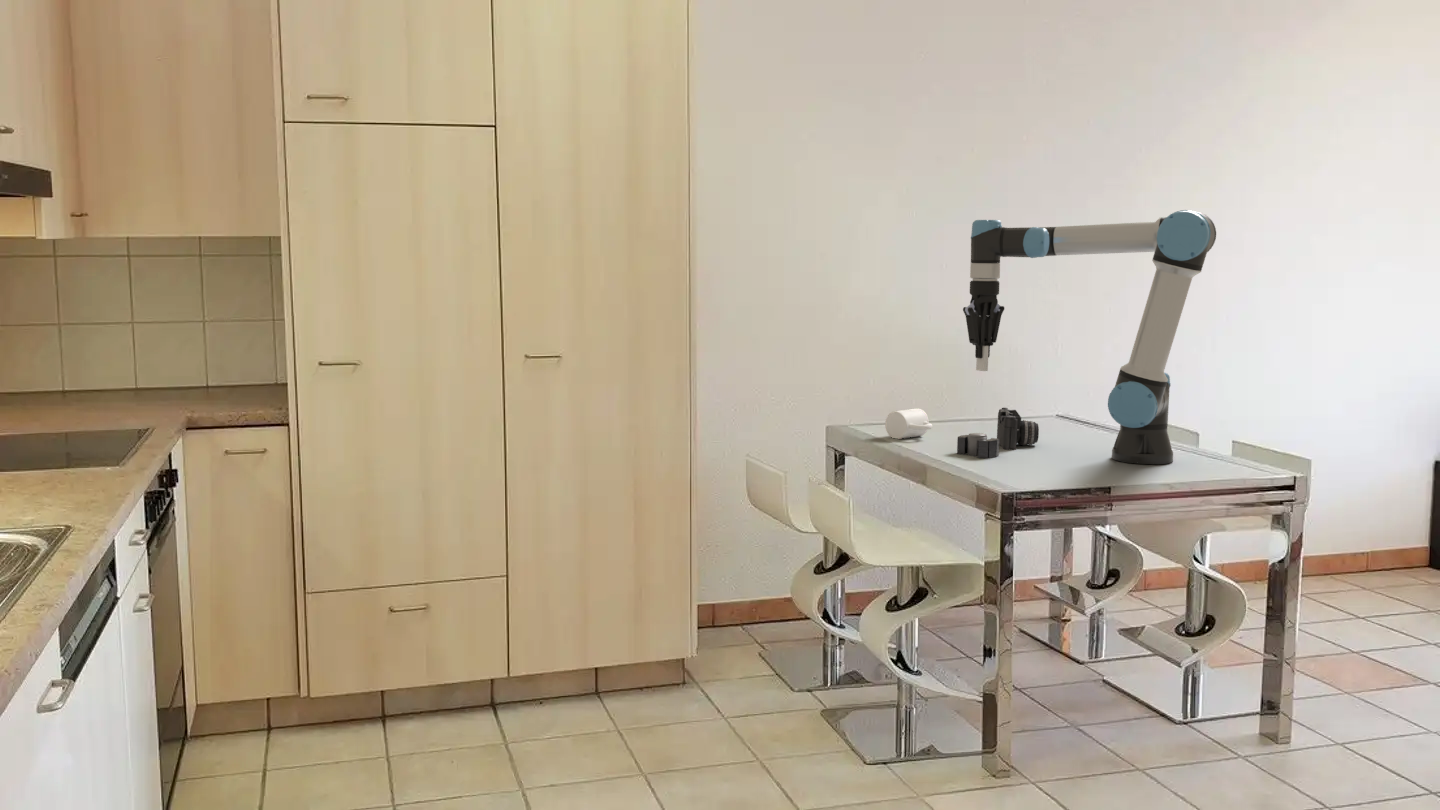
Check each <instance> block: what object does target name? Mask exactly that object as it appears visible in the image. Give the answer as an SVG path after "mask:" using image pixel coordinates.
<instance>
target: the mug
mask: <svg viewBox="0 0 1440 810" xmlns="http://www.w3.org/2000/svg"><path fill="white" fill-rule="evenodd" d="M884 424H885V430H886V433H887V435H888V436H889V437H890V438H891V437H892V439H893V438H898V439H897V440H903V439H902V438H904V439H909V438H910V437H911V438H915V437H916V438H918V437H921V436H923V435H925V434H926V433H927V431H928V430H931V429H932V428H933V424H932V423H930V421H929V416H928V414H927V413H926V412H925V410H923V409H921V408H911V409H901V410H896V411H891V412H890V413H889V414H888V415H887V416H886V417H885V422H884Z"/></svg>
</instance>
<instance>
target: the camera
mask: <svg viewBox="0 0 1440 810" xmlns="http://www.w3.org/2000/svg"><path fill="white" fill-rule="evenodd" d="M1039 429H1040V428H1039V424H1038V423H1036V422H1035V421H1033V420H1030V421H1029V420H1026V419H1023V420H1022V416H1021V415H1020V414H1019V412H1018V411H1017V410H1016V409H1009V408H1008V407H1005V406H1004V407H1001V408H999V410H998V413H997V429H996V438H997V439H999V447H1001V448H1002V449H1004V450H1006V451H1016V449H1017V444H1018V445H1022V446H1027V445H1031V446H1032V445H1035V444H1037V443H1038V441H1039V437H1040V436H1039V433H1040V431H1039Z"/></svg>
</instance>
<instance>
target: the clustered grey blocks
mask: <svg viewBox="0 0 1440 810" xmlns="http://www.w3.org/2000/svg"><path fill="white" fill-rule="evenodd" d="M968 435H969V434H963V435H959V436H957V439H956V440H957V441H956V443H957V445H956V446H957V447H956V454H957V455H966V454H967V450H968ZM999 455H1000V445H999V439H997V437H996V438H995V437H991V438H987V440H977V452H976V456H975V457H976V458H977V459H992V458H997V457H999Z"/></svg>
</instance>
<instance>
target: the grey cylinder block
mask: <svg viewBox="0 0 1440 810" xmlns="http://www.w3.org/2000/svg"><path fill="white" fill-rule="evenodd" d="M967 435H968V450H967V453H966V454H967V456H971V457H976V452H977V440H988V436H987V434H986V433H984V432H983V433H982V432H981V433H980V432H971V433H968V434H967Z"/></svg>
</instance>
